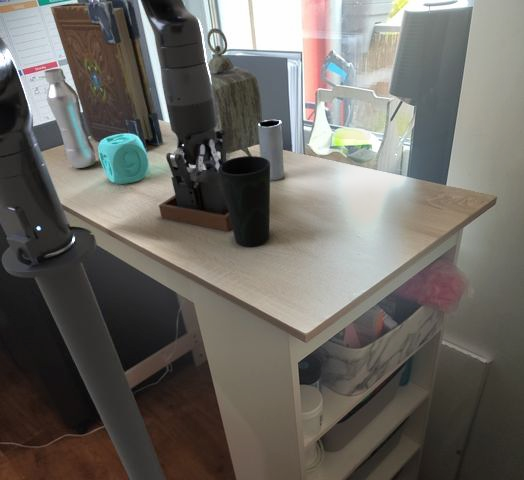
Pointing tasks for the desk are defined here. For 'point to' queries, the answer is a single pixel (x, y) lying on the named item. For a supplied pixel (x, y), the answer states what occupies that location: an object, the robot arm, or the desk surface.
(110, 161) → the decorative dice
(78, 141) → the silver metal bottle
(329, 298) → the desk surface
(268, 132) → the grey cylindrical tube
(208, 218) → the wooden tray
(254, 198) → the cup
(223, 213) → the black rectangular box
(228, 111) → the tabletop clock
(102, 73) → the decorative book
